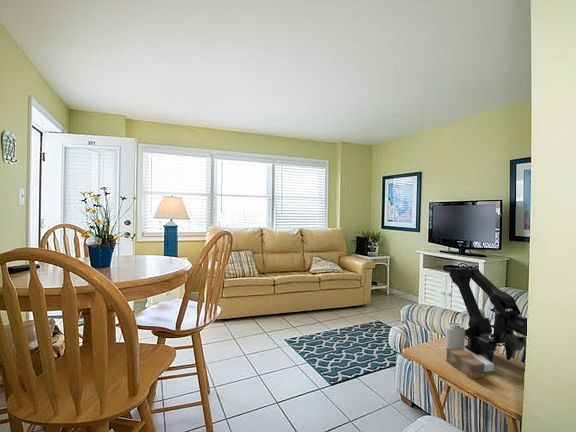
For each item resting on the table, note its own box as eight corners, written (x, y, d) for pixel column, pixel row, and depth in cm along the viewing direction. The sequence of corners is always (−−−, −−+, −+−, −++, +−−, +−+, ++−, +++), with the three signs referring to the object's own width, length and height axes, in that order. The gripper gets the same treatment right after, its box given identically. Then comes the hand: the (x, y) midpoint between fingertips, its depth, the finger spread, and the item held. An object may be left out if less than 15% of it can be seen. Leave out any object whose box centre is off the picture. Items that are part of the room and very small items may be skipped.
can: (455, 355, 136) (457, 329, 135) (441, 347, 143) (443, 322, 142) (467, 352, 139) (469, 326, 138) (452, 344, 146) (454, 320, 145)
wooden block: (446, 361, 131) (447, 348, 130) (457, 359, 132) (458, 347, 132) (471, 379, 118) (472, 365, 118) (483, 377, 120) (484, 363, 119)
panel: (455, 364, 129) (455, 357, 129) (479, 361, 131) (479, 354, 131) (468, 373, 122) (468, 366, 122) (493, 371, 124) (493, 363, 124)
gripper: (501, 335, 118) (498, 373, 120) (539, 332, 122) (536, 369, 124) (477, 323, 129) (475, 358, 130) (513, 320, 133) (510, 355, 134)
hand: (499, 360), depth 129 cm, fingers open, 9 cm apart
